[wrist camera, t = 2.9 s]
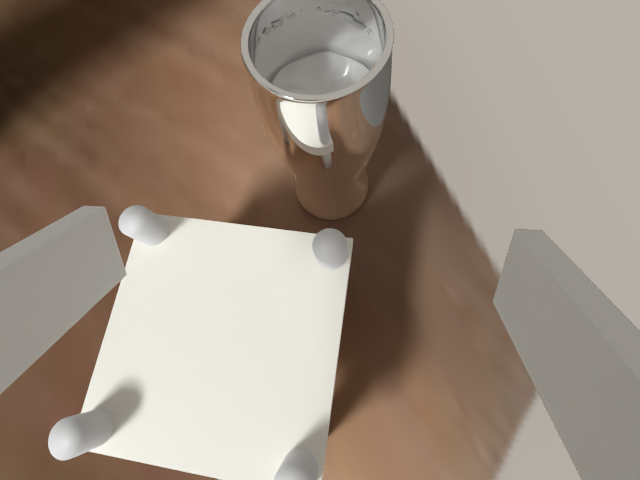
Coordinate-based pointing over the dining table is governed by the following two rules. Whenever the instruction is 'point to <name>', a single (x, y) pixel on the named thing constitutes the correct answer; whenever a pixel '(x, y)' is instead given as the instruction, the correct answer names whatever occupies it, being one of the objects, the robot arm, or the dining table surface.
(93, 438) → the shelf stand
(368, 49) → the silver metal goblet
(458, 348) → the dining table surface
